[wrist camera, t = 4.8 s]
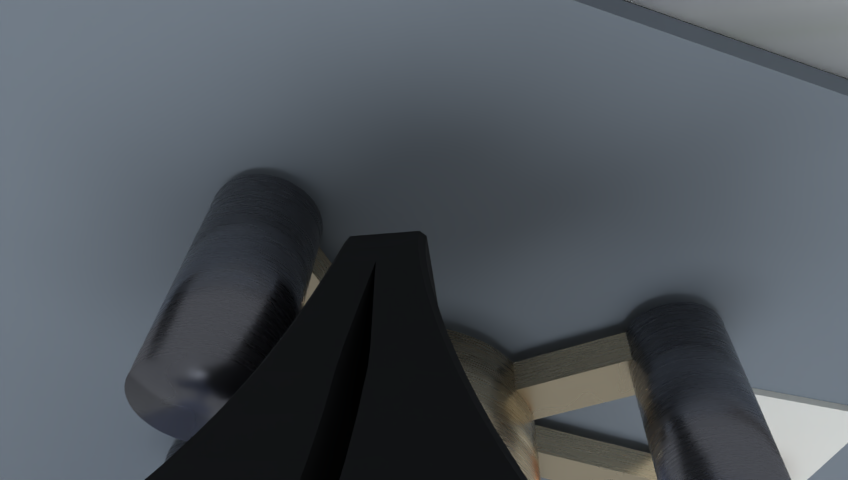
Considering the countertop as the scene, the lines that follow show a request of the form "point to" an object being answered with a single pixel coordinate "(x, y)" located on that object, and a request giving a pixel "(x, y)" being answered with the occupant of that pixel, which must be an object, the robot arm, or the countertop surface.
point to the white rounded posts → (804, 430)
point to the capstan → (483, 364)
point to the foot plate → (411, 186)
